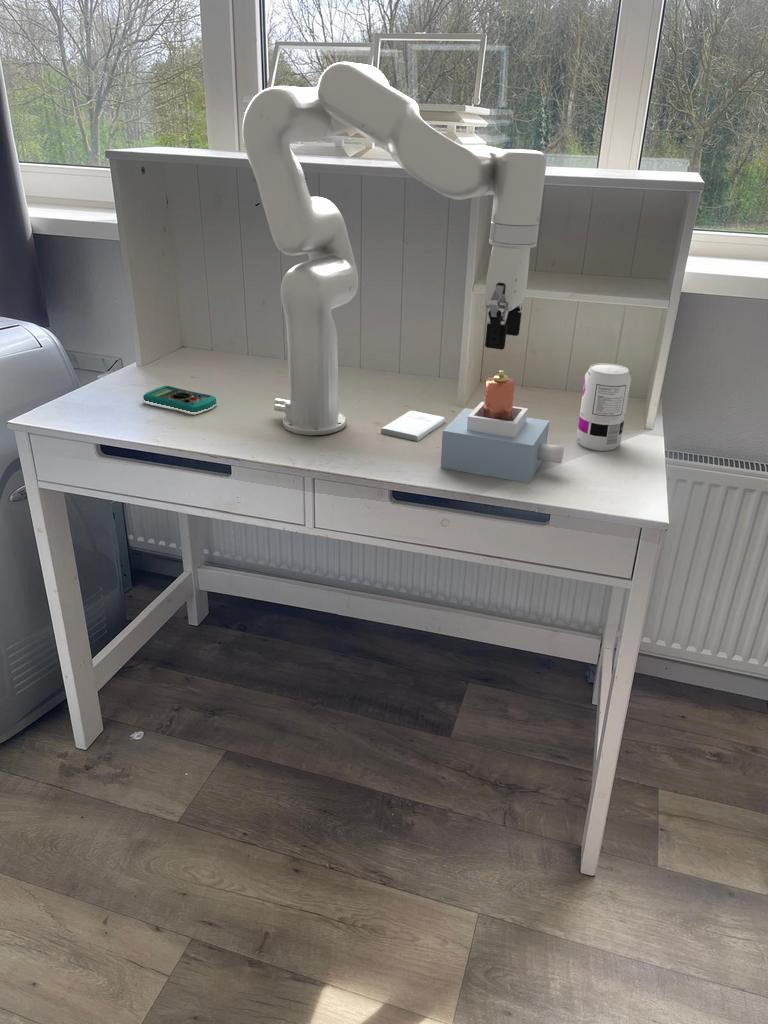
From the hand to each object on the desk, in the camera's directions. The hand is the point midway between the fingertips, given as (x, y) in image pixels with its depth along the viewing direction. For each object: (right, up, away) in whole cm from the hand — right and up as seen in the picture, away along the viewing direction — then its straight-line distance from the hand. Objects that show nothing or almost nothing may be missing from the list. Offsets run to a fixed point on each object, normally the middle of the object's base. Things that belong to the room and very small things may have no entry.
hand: (502, 341), depth 132 cm
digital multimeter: (-63, -7, +35) cm, 73 cm away
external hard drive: (-14, -12, +25) cm, 31 cm away
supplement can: (+21, -16, +19) cm, 33 cm away
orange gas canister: (0, -13, +7) cm, 15 cm away
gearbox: (+2, -20, +9) cm, 22 cm away
